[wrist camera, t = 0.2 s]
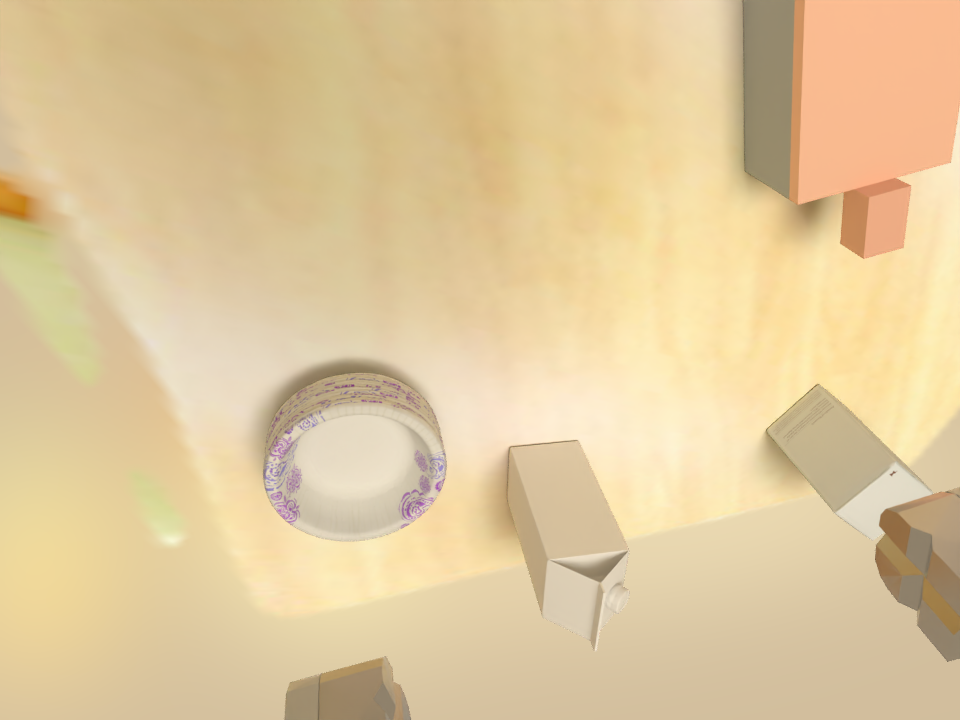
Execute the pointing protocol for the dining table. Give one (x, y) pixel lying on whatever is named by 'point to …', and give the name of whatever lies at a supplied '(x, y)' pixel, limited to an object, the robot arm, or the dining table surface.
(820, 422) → the supplement box
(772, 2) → the tub
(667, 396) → the dining table surface
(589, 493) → the milk carton
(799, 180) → the lid
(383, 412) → the paper bowls
